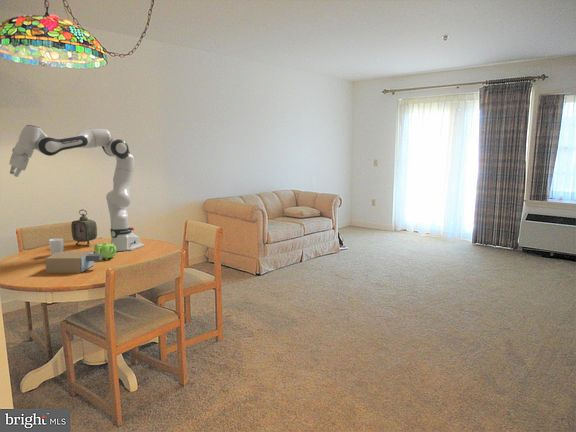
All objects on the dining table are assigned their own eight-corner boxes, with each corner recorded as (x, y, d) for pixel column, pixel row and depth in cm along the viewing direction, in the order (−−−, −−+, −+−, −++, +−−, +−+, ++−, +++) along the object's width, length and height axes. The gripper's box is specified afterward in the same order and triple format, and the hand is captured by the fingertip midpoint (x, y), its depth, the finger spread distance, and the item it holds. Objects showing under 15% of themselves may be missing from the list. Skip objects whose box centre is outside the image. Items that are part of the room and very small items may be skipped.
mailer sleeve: (92, 265, 231) (91, 251, 229) (80, 272, 217) (79, 258, 215) (60, 265, 230) (58, 251, 229) (46, 272, 216) (45, 258, 215)
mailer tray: (106, 264, 231) (105, 251, 230) (96, 271, 217) (95, 258, 216) (61, 264, 230) (60, 251, 229) (48, 272, 216) (47, 258, 215)
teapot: (117, 259, 244) (116, 243, 242) (96, 261, 238) (95, 245, 237) (114, 255, 254) (113, 239, 252) (94, 257, 248) (93, 241, 247)
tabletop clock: (72, 245, 278) (69, 209, 274) (83, 243, 286) (81, 208, 282) (88, 247, 273) (85, 211, 269) (99, 244, 281) (96, 209, 277)
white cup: (63, 256, 250) (61, 240, 249) (48, 257, 248) (47, 241, 247) (66, 253, 258) (64, 237, 256) (52, 254, 256) (50, 238, 254)
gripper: (34, 156, 222) (24, 180, 221) (24, 152, 235) (15, 174, 234) (21, 151, 217) (11, 175, 216) (12, 148, 231) (2, 170, 230)
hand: (13, 175), depth 225 cm, fingers open, 8 cm apart
